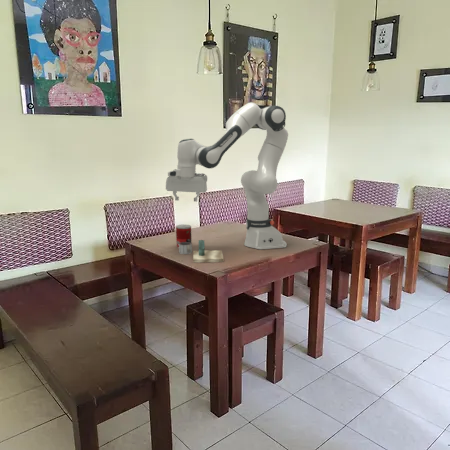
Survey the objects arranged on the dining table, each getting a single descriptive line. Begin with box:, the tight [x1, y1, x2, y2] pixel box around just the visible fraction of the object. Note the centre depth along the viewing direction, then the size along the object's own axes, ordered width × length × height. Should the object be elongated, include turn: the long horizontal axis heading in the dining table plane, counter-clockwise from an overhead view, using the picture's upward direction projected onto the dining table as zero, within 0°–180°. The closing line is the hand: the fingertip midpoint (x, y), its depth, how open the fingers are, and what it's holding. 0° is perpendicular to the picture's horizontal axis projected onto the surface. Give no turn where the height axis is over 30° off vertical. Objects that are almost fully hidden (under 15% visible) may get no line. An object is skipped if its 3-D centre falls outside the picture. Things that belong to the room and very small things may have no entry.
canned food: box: [175, 224, 192, 249], centre depth 218 cm, size 8×8×11 cm
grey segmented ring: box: [178, 241, 193, 255], centre depth 208 cm, size 6×6×4 cm
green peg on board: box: [192, 239, 225, 264], centre depth 199 cm, size 14×14×8 cm
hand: (186, 200), depth 206 cm, fingers open, 8 cm apart
